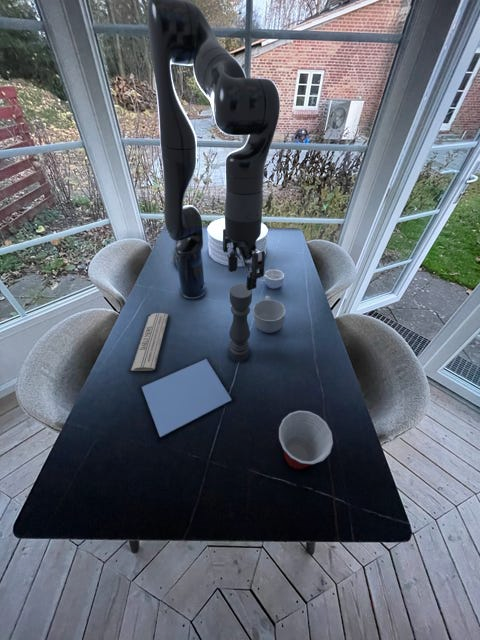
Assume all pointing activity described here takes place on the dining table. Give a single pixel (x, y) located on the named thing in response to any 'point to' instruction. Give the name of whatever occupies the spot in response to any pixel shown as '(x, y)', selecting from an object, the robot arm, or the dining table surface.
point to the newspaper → (150, 343)
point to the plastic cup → (304, 439)
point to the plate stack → (217, 243)
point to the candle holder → (239, 322)
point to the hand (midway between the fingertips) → (241, 279)
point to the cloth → (184, 396)
